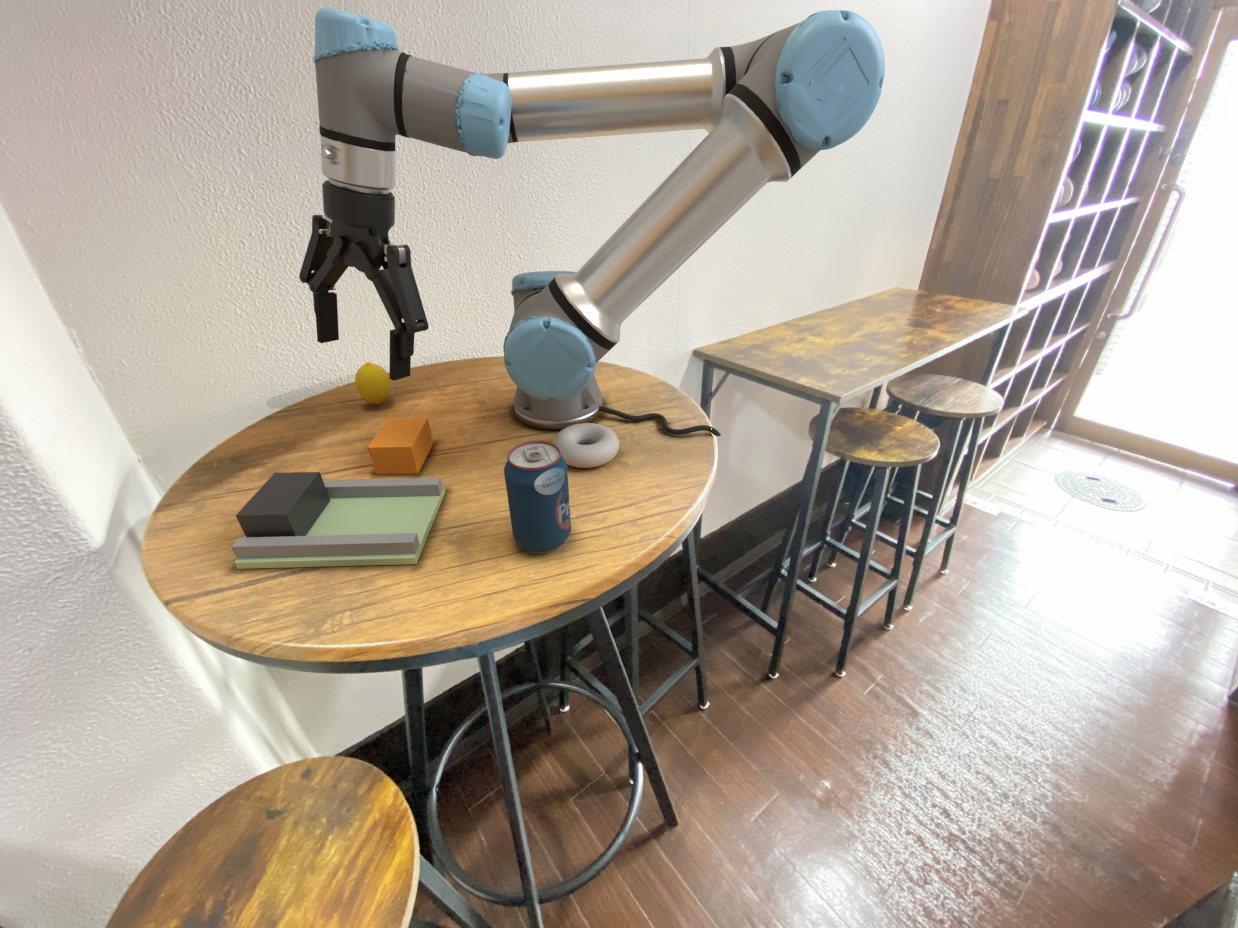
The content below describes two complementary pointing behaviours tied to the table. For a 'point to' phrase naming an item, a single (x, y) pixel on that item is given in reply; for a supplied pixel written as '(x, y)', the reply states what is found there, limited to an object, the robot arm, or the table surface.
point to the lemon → (373, 383)
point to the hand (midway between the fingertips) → (363, 358)
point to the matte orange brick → (401, 446)
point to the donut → (586, 456)
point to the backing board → (336, 521)
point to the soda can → (538, 496)
